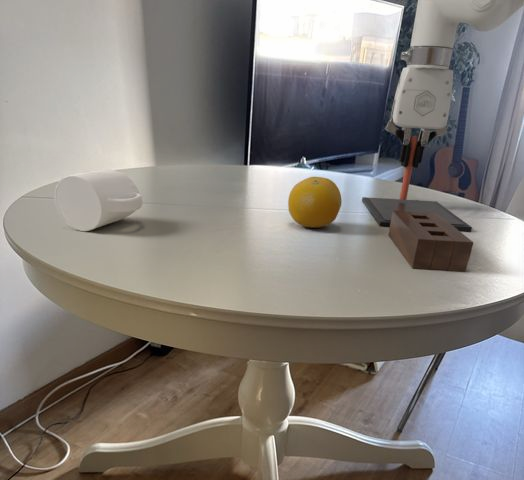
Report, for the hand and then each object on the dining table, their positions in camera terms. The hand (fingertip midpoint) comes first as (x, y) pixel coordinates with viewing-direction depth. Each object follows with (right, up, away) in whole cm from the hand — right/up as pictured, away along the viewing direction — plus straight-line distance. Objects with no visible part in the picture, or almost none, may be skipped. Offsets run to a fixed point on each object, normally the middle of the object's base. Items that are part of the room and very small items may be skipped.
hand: (409, 165), depth 97 cm
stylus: (0, -6, +3) cm, 7 cm away
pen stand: (-6, -22, -25) cm, 34 cm away
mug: (-54, -18, -21) cm, 61 cm away
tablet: (-1, -11, -3) cm, 11 cm away
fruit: (-21, -16, -15) cm, 31 cm away
